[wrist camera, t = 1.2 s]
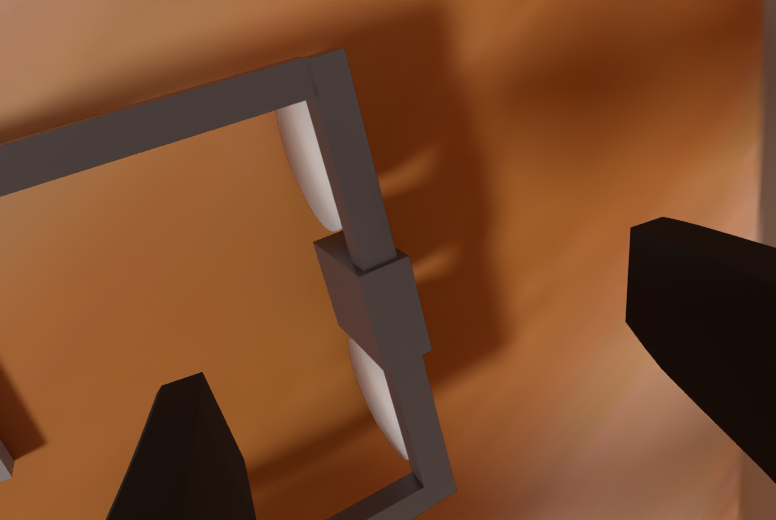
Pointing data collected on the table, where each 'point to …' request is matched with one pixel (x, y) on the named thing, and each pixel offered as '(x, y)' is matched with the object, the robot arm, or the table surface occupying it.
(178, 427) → the robot arm
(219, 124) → the glasses
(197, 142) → the table surface
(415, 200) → the table surface
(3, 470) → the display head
